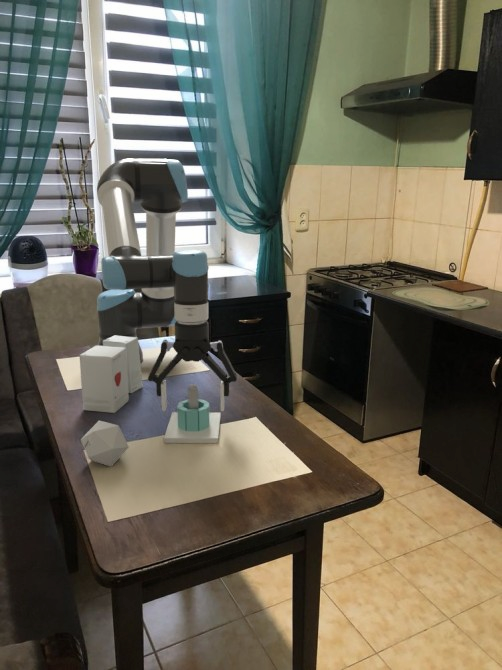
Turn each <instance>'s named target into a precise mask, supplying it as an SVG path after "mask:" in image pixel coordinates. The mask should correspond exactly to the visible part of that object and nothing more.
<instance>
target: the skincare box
mask: <svg viewBox="0 0 502 670" xmlns="http://www.w3.org/2000/svg"><path fill="white" fill-rule="evenodd" d="M138 342H139V337H126V336H117V335H114V336H112V337H110V338H108V339H106V340H103V346H110V347H124V348H126V357H127V376H128V394H133V393H134V392H136V391H138V390H141V389H142V388H143V374H142V366H141V362H140V354H139V344H140V343H139V344H138Z"/></svg>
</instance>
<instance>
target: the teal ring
mask: <svg viewBox="0 0 502 670" xmlns="http://www.w3.org/2000/svg"><path fill="white" fill-rule="evenodd" d="M198 400H199V409H188V398H187V399H184V400H182V401H179V402H178V404H177V407H176V409H177V411H176V412H177V414H178V428H180V429H182V430H184V431H201V430H204V429H206V428H208V427H209V413H210V402H209V401H207V400H204V399H202V398H201V399H200V398H198Z"/></svg>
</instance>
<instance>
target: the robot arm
mask: <svg viewBox="0 0 502 670" xmlns="http://www.w3.org/2000/svg"><path fill="white" fill-rule="evenodd" d="M99 177H100V178H99V179H98V181H97V182H98V183H97V186H96V197H97V200H98V203H99V204H100V205H101V207H102V212H103V219H104V220H103V221H104V228H105V237H106V238H105V239H106V245H107V254H108V256H104V257H103V258H101V277H102V285H103V287H104V289H106V290H105V291H103V292H100V293H99V295H98V296H97V298H96V311H97V316H98V317H97V319H98V336H99V337H98V339H99V340H98V343H97V346H103V340H106V339H108V338H110V337H112V336H114V335H117V336H126V337H137V329H150V328H151V329H152V328H161V327H162V328H169V327H174V341H168V340H167V339H163V340H162V342H161V344H160V345H161V346H160V352H159V354H158V356H157V358H156V361H155V363H154V365H153V367H152V369H151V371H150V373H149V375H148V377H147V381H148V382H154V383H155V386H156V388H155V389H156V396H157V397H160V398H161V411H162V412H165V411H166V409H167V407H168V404H167V403H168V401H167V380H166V377H167V376H168V375H169V374H170V373H171V371H173V369H174V368H175V367H176V366H177V365H178V364H179V363H180V362H181V361H185V362H196V363H197V362H200V361H202V362H203V363H204V364H205V365H207V366H208V367H209V368H210V369H211V370H212V372H213V373H214V374H215V375H216V376H217V377H218V378H219V379H220V411H221V412H224V411H225V397H229V395H230V383H233V382H237V381H238V379H237V377H238V374H237V372H236V370H235V369H234V367H233V365H232V363H231V361H230V359H229V357H228V355H227V354H226V352H225V350H224V345H223V341H222V340H221V339H218V340H217V341H212V342H211V341H210V336H209V329H210V327H209V322H208V319H209V275H208V274H209V265H208V263H209V262H208V254H207V253H206V252H205V251H203V250H198V249H185V250H183V249H182V250H176V218H177V217H176V214H178V213H179V212H180V211H181V210H182V203H186V202H188V195H189V191H188V183H187V176H186V172H185V169H184V166H183V164H182V163H181V162H180V161H179V160H178V159H167V158H132V157H131V158H123V159H120V160H117V161H115V162H113V163H112V164H110V165H109V166H108V167H107V168H105V170H104V171H103V173H101V175H100V176H99ZM133 203H140V208H141V209H142V210H143V211H144V212H145V215H146V216H145V220H146V221H145V222H146V225H145V227H146V228H145V229H146V230H145V231H146V232H145V234H146V236H145V237H146V238H145V239H146V246H145V248H146V251H145V252H146V253H145V255H142V252H141V247H140V240H139V235H138V230H137V229H138V228H137V223H136V218H135V214H134V208H133ZM138 289H139V290H140V289H141V292H136V291H135V290H138ZM138 344H139V354H140V363H142V362H143V360H144V353H143V349H142V347H141V345H140V342H139V341H138ZM172 348H173V350H174V351H175V353H176V354H175V356H174V357H173V358H172V359H171V360H170V362H169V363H168V364H167V365H166V366H165V368H164V369H162V371H161V372H160V373H159V374H157V373H158V370H159V368H160V366H161V364H162V362H163V361H164V358H165V357H166V354H167V352H170V350H171V349H172ZM211 349H213V351H214V352H216V353H217V355H218V357H219V359H220V361H221V363H222V365H223V367H224V368H225V370H226V371H224V370H223V368H221V366H219V364H218V363H217V362H216V361H215V359H213V357H212V356H211V354H210V353H209V351H210V350H211ZM227 373H228V374H227Z"/></svg>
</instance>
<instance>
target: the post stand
mask: <svg viewBox="0 0 502 670" xmlns="http://www.w3.org/2000/svg"><path fill="white" fill-rule="evenodd" d="M187 399H188V409H199V400H198V399H199V387H198V385H197V384H194V383H191V384H190V385H189V386H188V388H187ZM220 424H221V412H209V427H208V428H206V429H204V430H201V431H184V430H182V429H180V428H178V414H177V411H176V412H175V411H173V412H171V415H170V418H169V422H168V425H167V428H166V431H165V433H164V434H165V435H164V437H163V439H164V440H163V441H164V442H163V443H164V444H219V436H220V427H221V425H220Z"/></svg>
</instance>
